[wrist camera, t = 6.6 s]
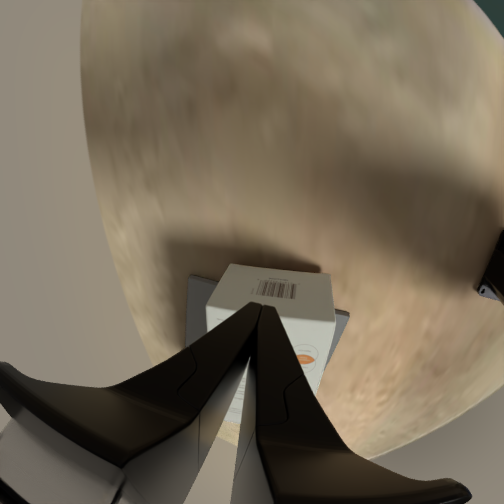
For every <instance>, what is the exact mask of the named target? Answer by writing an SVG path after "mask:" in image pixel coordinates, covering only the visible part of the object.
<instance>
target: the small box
mask: <svg viewBox="0 0 504 504" xmlns="http://www.w3.org/2000/svg"><path fill="white" fill-rule="evenodd" d="M251 301H252V302H256V303H261V304H262V306H263V305H269V306H274V307H275V308H276V310H277V312H278V314H279V317H280V319H281V321H282V323H283V326H284V328H285V330H286V333H287V335H288V337H289V339H290V342H291V344H292V346H293V349H294V351H295V353H296V355H297V358H298V360H299V362H300V364H301V367H302V369H303V371H304V375H305V376H306V378H307V380H308V383H309V385H310V387H311V389H312V391H313V393H314V395H315V396H316V393H317V390H318V387H319V384H320V380H321V377H322V374H323V371H324V368H325V364H326V361H327V357H328V354H329V350H330V346H331V343H332V339H333V335H334V331H335V326H336V318H335V309H334V300H333V292H332V284H331V275H330V274H325V273H308V272H298V271H288V270H278V269H270V268H261V267H252V266H244V265H238V264H229V266H228V268H227V270H226V271H225V273H224V274H223V276H222V278H221V280H220V281H219V283H218V285H217V286H216V288H215V290H214V291H213V293H212V295H211V297H210V298H209V300H208V302H207V304H206V324H207V332H209V331H210V330H212V329H213V328H214V327H216V326H217V325H219V324H220V323H221V322H223V321H224V320H225V319H227V318H228V317H230V316H231V315H232V314H234V313H235V312H236V311H238V310H239V309H241V308H242V307H243V306H245V305H246V304H247V303H249V302H251ZM249 359H250V358H249ZM248 363H249V362H248ZM247 368H248V365H247ZM247 368H246V370H245V373H244V375H243V377H242V380H241V382H240V384H239V387H238V389H237V391H236V393H235V396H234V398H233V400H232V402H231V405H230V407H229V409H228V411H227V413H226V416H225V418H224V420H223V421H228V422H233V423H238V424H241V416H242V408H243V400H244V392H245V384H246V375H247Z"/></svg>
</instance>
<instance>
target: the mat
mask: <svg viewBox="0 0 504 504" xmlns="http://www.w3.org/2000/svg"><path fill="white" fill-rule="evenodd" d="M218 283H219V282H216V281H213V280H209V279H205V278H201V277H197V276H194V275H190V276H189V278H188V291H187V311H186V339H185V348H186V347H189V345H190V344H192V343H193V342H195V341H196V340H197V339H199V338H200V337H202V336H203V335H204V334H206V333H207V324H206V304H207V302H208V300H209V298H210V297H211V295H212V293H213V291H214V290H215V288H216V286H217V285H218ZM349 317H350V315H349V313H348V312H343V311H339V310H335V318H336V326H335V331H334V335H333V339H332V343H331V346H330V350H329V354H328V357H327V361H326V364H325V368H326V366H327V364H328V362H329V360H330V358H331V356H332V354H333V352H334V350H335V348H336V346H337V344H338V341H339V339H340V337H341V335H342V333H343V331H344V329H345V326H346V324H347V322H348V320H349ZM325 368H324V370H325ZM323 372H324V371H323Z"/></svg>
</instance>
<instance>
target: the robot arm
mask: <svg viewBox="0 0 504 504" xmlns="http://www.w3.org/2000/svg"><path fill="white" fill-rule="evenodd" d="M482 289H483V290H482ZM477 292H478V294H479V295H480V296H483V297H486V298H490V299H494V300H498V301H501V302H502V304H503V305H504V230H503V231H502V233H501V235H500V238H499V241H498V243H497V246H496V248H495V251H494V253H493V256H492V258H491V261H490V263H489V265H488V268H487V270H486V272H485V274H484V276H483V279H482V281H481V283H480V285H479V287H478V289H477ZM249 358H250V359H249ZM248 362H249V363H248ZM247 365H248V368H247ZM246 368H247V375H246V384H245V392H244V400H243V408H242V416H241V424H240V432H239V440H238V448H237V457H236V464H235V472H234V479H233V488H232V495H231V502H230V504H465V503H466V502H468V501H469V500H470V499H471V498H472V494H471V493H470V491H469V490H468V488H467V487H465V486H464V485H463V484H461V483H459V482H457V481H455V480H453V479H451V478H443V479H437V480H431V481H421V480H415V479H410V478H407V477H405V476H402V475H400V474H397V473H395V472H392V471H390V470H388V469H386V468H384V467H382V466H379V465H377V464H375V463H373V462H371V461H369V460H367V459H365V458H363V457H361V456H359V455H357V454H355V453H354V452H353V451H351V450H350V449H349V448H348V447H347V445H346V444H345V443H344V442H343V440H342V439H341V437H340V436H339V434H338V433H337V431H336V429H335V428H334V426H333V425H332V423H331V422H330V420H329V418H328V417H327V415H326V414H325V412H324V411H323V409H322V407H321V405H320V404H319V402H318V400H317V399H316V397H315V395H314V393H313V391H312V389H311V387H310V385H309V383H308V380H307V378H306V376H305V375H304V371H303V369H302V367H301V364H300V362H299V360H298V358H297V355H296V353H295V351H294V349H293V346H292V344H291V342H290V339H289V337H288V335H287V333H286V330H285V328H284V326H283V323H282V321H281V319H280V317H279V314H278V312H277V310H276V308H275V307H274V306H269V305H263V306H262V304H261V303H256V302H252V301H251V302H249V303H247V304H246V305H245V306H243V307H242V308H241V309H239V310H238V311H236V312H235V313H234V314H232V315H231V316H230V317H228V318H227V319H225V320H224V321H223V322H221V323H220V324H219V325H217V326H216V327H214V328H213V329H212V330H210V331H209V332H207V333H206V334H204V335H203V336H202V337H200V338H199V339H197V340H196V341H195V342H193V343H192V344H190V345H189V347H186V348H184V349H183V350H181V351H180V352H178V353H177V354H175V355H174V356H172V357H171V358H169V359H167V360H166V361H164V362H162V363H160V364H158V365H156V366H154V367H152V368H150V369H149V370H146V371H144V372H142V373H140V374H138V375H136V376H134V377H132V378H130V379H128V380H126V381H124V382H121V383H119V384H116V385H113V386H110V387H104V388H94V387H84V386H75V385H66V384H59V383H51V382H45V381H40V380H36V379H33V378H30V377H28V376H26V375H24V374H22V373H21V372H19V371H18V370H17V369H16V368H14V367H13V366H12V365H10V364H9V363H6V362H0V403H1V404H2V406H3V407H4V409H5V410H6V411H7V412H8V414H9V415H10V416H11V417H12V419H11V420H10V421H9V422H8V424H7V425H6V426H5V427H4V429H3V430H2V431H1V433H0V504H183V503H184V501H185V499H186V497H187V495H188V493H189V491H190V489H191V487H192V485H193V483H194V481H195V479H196V477H197V475H198V473H199V471H200V469H201V467H202V465H203V463H204V461H205V458H206V456H207V454H208V452H209V450H210V448H211V446H212V444H213V441H214V440H215V437H216V435H217V433H218V431H219V429H220V427H221V424H222V422H223V420H224V418H225V416H226V413H227V411H228V409H229V407H230V405H231V402H232V400H233V398H234V396H235V393H236V391H237V389H238V387H239V384H240V382H241V380H242V377H243V375H244V373H245V370H246Z"/></svg>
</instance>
